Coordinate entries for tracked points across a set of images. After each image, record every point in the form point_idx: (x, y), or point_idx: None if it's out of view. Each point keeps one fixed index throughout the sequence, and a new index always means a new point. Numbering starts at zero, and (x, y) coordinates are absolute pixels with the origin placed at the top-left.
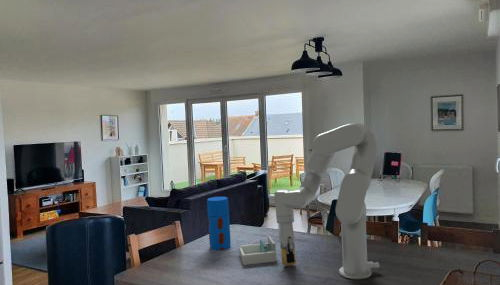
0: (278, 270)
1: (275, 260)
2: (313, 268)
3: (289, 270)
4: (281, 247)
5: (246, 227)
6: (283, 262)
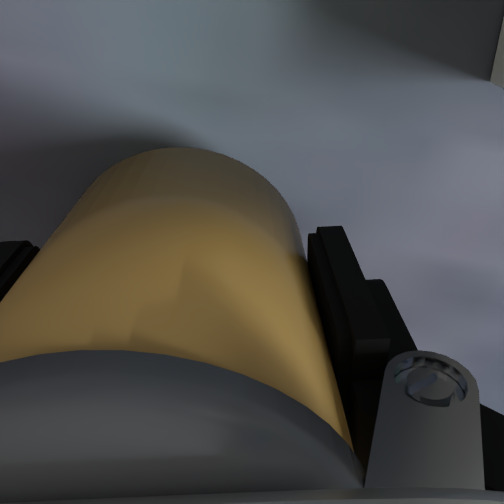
0: (30, 25)
1: (502, 61)
2: None
3: (26, 204)
4: None
5: None
6: (108, 176)
